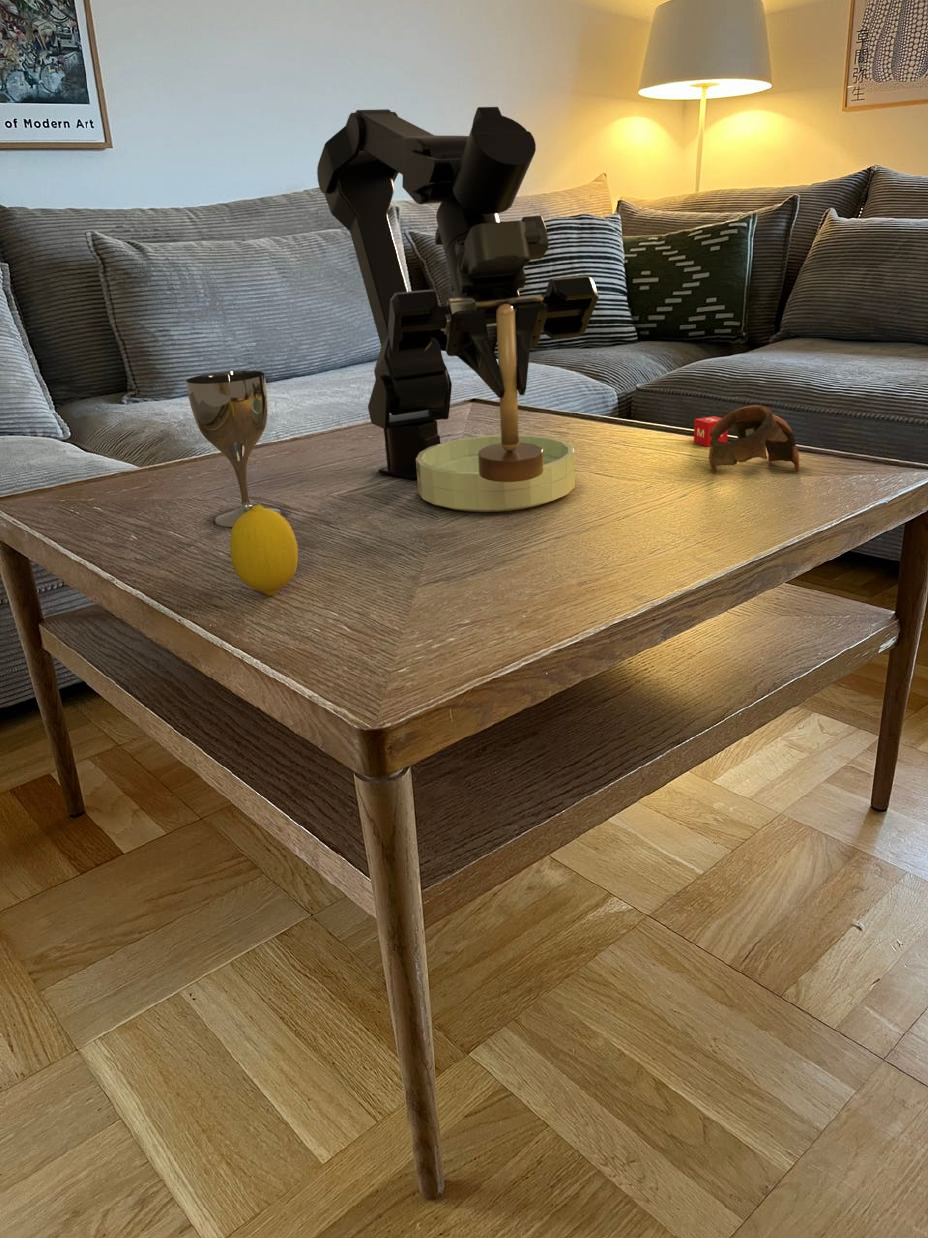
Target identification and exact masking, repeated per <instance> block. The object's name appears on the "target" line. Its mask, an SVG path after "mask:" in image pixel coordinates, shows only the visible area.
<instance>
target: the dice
mask: <svg viewBox="0 0 928 1238" xmlns="http://www.w3.org/2000/svg"><path fill="white" fill-rule="evenodd" d="M722 418H723V417H719V416H715V415H712V416H707V417H706V416H705V417H699V418H694V423H693V424H694V427H693V443H694V444H695V443H696V444H698V445H701V446H704V447H711V444H710V441H711V439H712V438H711V436H710V435H709V434H710V431H711V429H712V428H713V426H714V425H715V424H716V423H717V422H718V421H719V420H720V419H722ZM728 433H729V429H727V430H726V431H725V432H724V433H723V434H722V435H721V436H720V437H719V439H718V441H720V442H728Z"/></svg>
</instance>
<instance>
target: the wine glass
mask: <svg viewBox="0 0 928 1238" xmlns="http://www.w3.org/2000/svg"><path fill="white" fill-rule="evenodd" d="M185 384H186V385H185V386H186V390H187V395H188V396H187V397H188V400H189V404H190V405H189V406H190V409H191V412H192V414H193V417H194V420H195V423H196V426H197V427H198V430H199V431H200V433H201V435H202V436H203V437H204V438H205V439H206V440H207V441H208V442H209V443H211V445H212V446H214V447H215V448H216V449H217V450H218V451H219V452H220V453H222V455H224V457H225V458H227V460H228V461H229V463H230V464H231V466H232V468H233V470H234V473H235V476H236V479H237V483H238V486H239V492H240V497H241V505H240V506H239V507H238V508H236V509H232V510H228V511H226V512H223V513H221V514H219V515H217V516H216V517H215V519H214V523H215V524H216V525H218V526H221V527H228V528H233V526H234V524H235V523H236V521H237V520H238V519H239V517H240V516H242V515H243V514H244V513H246V512H247V511H249V510H251V509H252V507H253V506H254V505H252V504H251V501H250V497H249V492H248V491H249V490H248V482H247V480H248V479H247V476H248V475H247V466H248V462H249V458H250V456H251V453H252V452H253V450H254V448H255V447H256V445H257V443H258V442H259V441H260V439H261V437H262V435H263V434H264V432H265V430H266V426H267V422H268V407H269V404H268V402H269V401H268V391H267V390H268V389H267V382H266V376H265V372H263V371H260V370H231V371H230V370H229V371H220V372H219V371H218V372H212V373H205V374H201V375H195V376H192V377H190V378H189V377H188V379H186V380H185ZM262 507H263V508H266V509H270V510H273V511H275V512H277V513H279V514H280V515H281V514H282V512H281V510H280V509H279V508H277V507H274V506H273V507H272V506H262Z"/></svg>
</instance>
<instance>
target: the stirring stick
mask: <svg viewBox="0 0 928 1238" xmlns="http://www.w3.org/2000/svg"><path fill="white" fill-rule="evenodd" d="M496 317H497V326H496V339H497V340H496V341H497V343H496V344H497V363H498V366H499V368H500V371H501V374H502V379H503V384H504V389H505V393H504V397H503V398H499V417H500V418H499V419H500V435H501V443H500V444H494V445H490V446H487V447H484V448H482V449H481V450H480V451H479V452H478V462H479V475H480V476H481V477H482V478H484V479H487V480H491V481H497V482H518V481H525V480H529V479H533V478H536V477H538V476H540V475H541V474H542V473H543V450H542V448H541V447H539V446H537V445H534V444H529V443H519V435H520V434H519V405H518V401H519V400H518V390H517V367H516V334H515V311H514V309H513V307H512V306H511V305H509V304H503V305H501V306H500V307H499V308H498V309H497V312H496Z"/></svg>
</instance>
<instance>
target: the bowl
mask: <svg viewBox="0 0 928 1238" xmlns="http://www.w3.org/2000/svg"><path fill="white" fill-rule="evenodd" d="M500 443H501V434H494V435H481V436H471V437H463V438H459V439H454V440H448V441H445V442H440V444H438V445H434V446H431V447H429V448H427V449H425V450H423V451H421V452H420V453H419V454H418V456H417V458H416V469H417V479H416V480H417V493H418V494H419V495H420V497H421V499H422V500H423V501H426V502H428V503H430V504H431V505H434V506H438V507H443V508H446V509H450V510H455V511H460V512H473V513H474V512H475V513H497V512H498V513H499V512H509V511H510V512H511V511H518V510H519V511H520V510H523V509H524V510H525V509H531V508H534V507H538V506H542V505H545V504H548V503H550V502H553V501H555V500H557V499H560V498H562V497H565V496H567V495H568V494H569V493H570V492H572V490H574V488H576V482H575V481H576V478H575V477H576V476H575V475H576V473H575V471H576V470H575V446H573V445H572V444H571V443H569V442H567V441H565V440H561V439H557V438H554V437H549V436H542V435H534V434H533V435H532V434H519V443H529V444H534V445H537V446H539V447H541V448H542V450H543V473H542V474H541V475H540V476H538V477H536V478H533V479H529V480H525V481H518V482H497V481H491V480H487V479H484V478H482V477H481V476H480V475H479V462H478V452H479V451H480V450H481V449H482V448H484V447H487V446H490V445H494V444H500Z"/></svg>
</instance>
